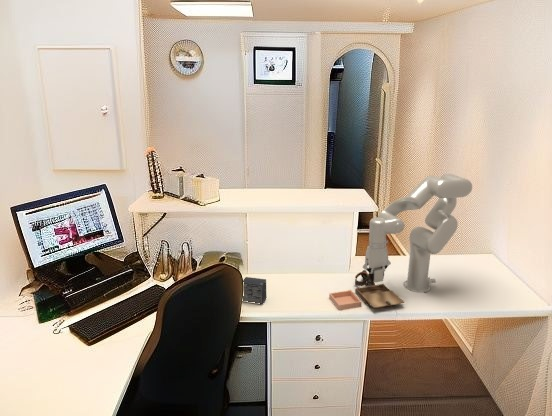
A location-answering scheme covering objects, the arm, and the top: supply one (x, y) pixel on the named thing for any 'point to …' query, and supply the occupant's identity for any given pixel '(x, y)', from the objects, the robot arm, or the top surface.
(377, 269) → the stone block
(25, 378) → the top surface
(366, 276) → the broken pottery ring
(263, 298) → the small box
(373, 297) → the sliding lid wooden box
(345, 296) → the terracotta tray
